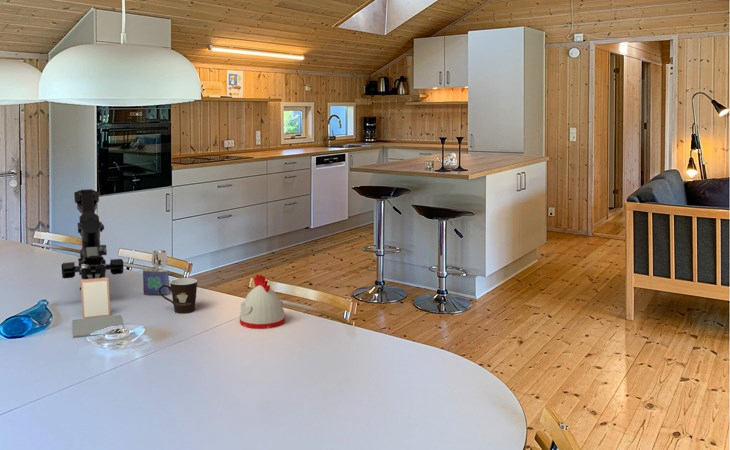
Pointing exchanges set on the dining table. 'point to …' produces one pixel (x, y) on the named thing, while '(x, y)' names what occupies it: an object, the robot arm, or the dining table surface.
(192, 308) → the coffee mug
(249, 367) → the dining table surface
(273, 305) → the kitchen timer
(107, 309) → the tile
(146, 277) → the flask
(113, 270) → the robot arm
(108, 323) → the mat
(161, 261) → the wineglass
